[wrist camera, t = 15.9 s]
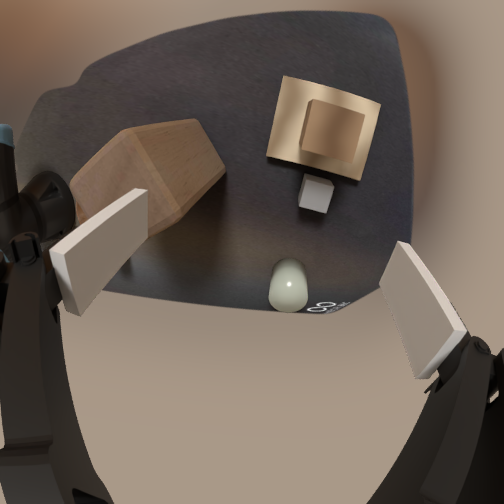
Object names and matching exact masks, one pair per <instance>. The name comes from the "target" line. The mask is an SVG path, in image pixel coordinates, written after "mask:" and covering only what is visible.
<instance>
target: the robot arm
mask: <svg viewBox="0 0 504 504" xmlns="http://www.w3.org/2000/svg"><path fill="white" fill-rule="evenodd" d="M14 149H15V146H14V144H13V132H12V128H11V127H10V126H9V125H7V124H0V404H1V416H2V425H3V432H4V439H5V445H4V448H2V449H0V483H1V486H2V490H3V493H4V497H5V500H6V503H7V504H114V502H113V500H112V498H111V496H110V495H109V492H108V491H107V489H106V487H105V485H104V484H103V482H102V481H101V479H100V478H99V477H98V475H97V474H96V472H95V470H94V468H93V465H92V463H91V460H90V458H89V455H88V452H87V449H86V446H85V443H84V440H83V437H82V434H81V430H80V427H79V424H78V420H77V417H76V413H75V409H74V405H73V401H72V396H71V392H70V387H69V382H68V377H67V372H66V365H65V359H64V352H63V344H62V335H61V325H60V312H59V309H58V306H57V305H58V304H59V303H60V301H61V300H63V303H64V306H65V309H66V311H68V312H70V313H73V314H75V315H78V316H81V315H82V314H83V313H84V311H85V310H86V309H87V308H88V306H89V305H90V304H91V302H92V301H93V300H94V299H95V298H96V296H97V295H98V294H99V293H100V291H101V290H102V289H103V288H104V287H105V285H106V284H107V283H108V282H109V281H110V279H111V278H112V277H113V276H114V275H115V274H116V272H117V271H118V270H119V269H120V268H121V267H122V265H123V264H124V263H125V262H126V261H127V260H128V259H129V258H130V256H131V255H132V254H133V253H134V252H135V251H136V250H137V249H138V248H139V246H140V245H141V244H142V243H143V242H144V241H145V240H146V239H147V238H148V190H144V189H137V188H135V189H133V190H132V191H130V192H128V193H127V194H125V195H124V196H122V197H121V198H119V199H118V200H116V201H115V202H113V203H112V204H110V205H109V206H107V207H106V208H104V209H103V210H101V211H100V212H98V213H97V214H96V215H94V216H93V217H91V218H90V219H89V220H87V221H86V222H84V223H83V224H82V225H79V226H77V227H75V228H73V229H71V228H72V226H73V223H74V219H75V208H74V202H73V198H72V195H71V192H70V190H69V188H68V186H67V184H66V183H65V182H64V180H63V179H62V178H61V177H60V176H59V175H58V174H56V173H54V172H51V171H46V172H43V173H41V174H38V175H36V176H35V177H34V178H33V179H32V180H31V181H30V182H29V183H28V184H27V185H26V186H25V187H24V188H23V189H22V190H21V192H19V193H18V186H17V178H16V170H15V159H14ZM58 238H60V239H59V240H57V241H56V242H54V243H53V244H52V245H51V246H49V247H48V248H47V249H46V250H44V251H43V252H42V251H41V246H40V243H42V242H46V241H50V240H54V239H58ZM379 285H380V287H381V290H382V292H383V294H384V297H385V299H386V301H387V304H388V306H389V309H390V311H391V313H392V316H393V318H394V321H395V323H396V326H397V329H398V331H399V334H400V337H401V339H402V342H403V344H404V347H405V350H406V353H407V356H408V359H409V362H410V365H411V368H412V371H413V374H414V377H415V379H429V378H430V377H431V375H432V374H433V373H434V372H435V371H436V370H438V373H439V377H438V378H437V379H436V380H435V381H434V382H433V383H432V384H431V385H430V386H429V387H428V388H427V389H426V390H425V392H424V393H427V392H428V391H430V390H431V391H430V394H429V397H428V399H427V401H426V403H425V406H424V408H423V410H422V412H421V414H420V416H419V419H418V421H417V423H416V425H415V427H414V429H413V431H412V433H411V435H410V437H409V439H408V440H407V442H406V444H405V446H404V448H403V450H402V451H401V453H400V455H399V456H398V458H397V460H396V461H395V463H394V465H393V466H392V468H391V470H390V471H389V473H388V474H387V476H386V477H385V479H384V480H383V482H382V483H381V485H380V486H379V488H378V489H377V490H376V492H375V493H374V494H373V496H372V497H371V499H370V500H369V501H368V502H367V504H504V348H503V349H502V350H501V351H500V353H499V354H498V355H497V356H495V355H493V354H491V351H490V348H489V346H488V345H487V344H486V343H485V342H484V341H483V340H482V339H481V338H479V337H476V336H473V337H471V335H470V334H469V332H468V330H467V328H466V326H465V325H464V323H463V321H462V320H461V318H459V315H458V313H457V312H456V310H455V308H454V306H453V305H452V303H451V302H450V301H449V300H448V298H447V297H446V295H445V294H444V292H443V291H442V290H441V288H440V286H439V285H438V283H437V282H436V280H435V279H434V277H433V276H432V275H431V273H430V272H429V270H428V269H427V268H426V266H425V265H424V263H423V262H422V261H421V259H420V258H419V257H418V255H417V254H416V253H415V251H414V250H413V249H412V247H411V246H410V245H409V244H407V243H403V242H400V241H397V244H396V246H395V249H394V251H393V253H392V256H391V258H390V260H389V262H388V265H387V267H386V269H385V271H384V274H383V276H382V278H381V280H380V282H379ZM498 390H499V395H498V397H497V398H496V399H495V400H494V401H492V402H491V403H490V397H492V396H493V395H494V394H495V393H496V392H497V391H498Z"/></svg>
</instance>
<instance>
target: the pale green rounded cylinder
mask: <svg viewBox="0 0 504 504" xmlns="http://www.w3.org/2000/svg"><path fill="white" fill-rule="evenodd" d="M307 300H308V293H307V277H306V269H305V266H304V265H303V264H302V263H301V262H300V261H298V260H296V259H293V258H285V259H282V260H280V261H278V262H277V263H276V264H275V265H274V267H273V269H272V275H271V283H270V291H269V301H270V304H271V305H272V306H273V307H274V308H275V309H277V310H278V311H281V312H286V313H291V312H296V311H298V310H300V309H302V308H303V307H304V306H305V304H306V303H307Z"/></svg>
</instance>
